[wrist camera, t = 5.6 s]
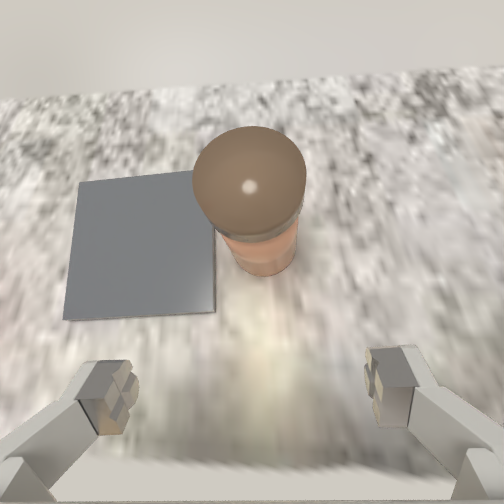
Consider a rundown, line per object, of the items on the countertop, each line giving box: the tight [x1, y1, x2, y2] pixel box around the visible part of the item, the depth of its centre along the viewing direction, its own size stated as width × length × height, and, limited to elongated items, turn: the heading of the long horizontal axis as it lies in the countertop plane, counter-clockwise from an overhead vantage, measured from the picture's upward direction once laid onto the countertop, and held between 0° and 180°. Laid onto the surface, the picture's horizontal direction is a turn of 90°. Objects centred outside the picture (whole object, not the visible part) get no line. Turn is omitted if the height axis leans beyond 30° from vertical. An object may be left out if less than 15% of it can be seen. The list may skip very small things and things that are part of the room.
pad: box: [63, 170, 216, 321], centre depth 27 cm, size 12×12×1 cm
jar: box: [192, 126, 306, 276], centre depth 20 cm, size 5×5×11 cm
